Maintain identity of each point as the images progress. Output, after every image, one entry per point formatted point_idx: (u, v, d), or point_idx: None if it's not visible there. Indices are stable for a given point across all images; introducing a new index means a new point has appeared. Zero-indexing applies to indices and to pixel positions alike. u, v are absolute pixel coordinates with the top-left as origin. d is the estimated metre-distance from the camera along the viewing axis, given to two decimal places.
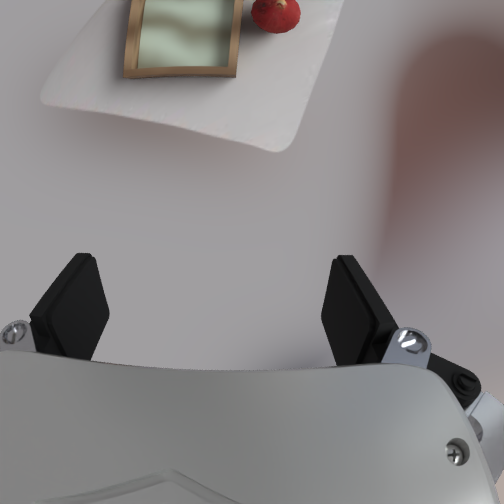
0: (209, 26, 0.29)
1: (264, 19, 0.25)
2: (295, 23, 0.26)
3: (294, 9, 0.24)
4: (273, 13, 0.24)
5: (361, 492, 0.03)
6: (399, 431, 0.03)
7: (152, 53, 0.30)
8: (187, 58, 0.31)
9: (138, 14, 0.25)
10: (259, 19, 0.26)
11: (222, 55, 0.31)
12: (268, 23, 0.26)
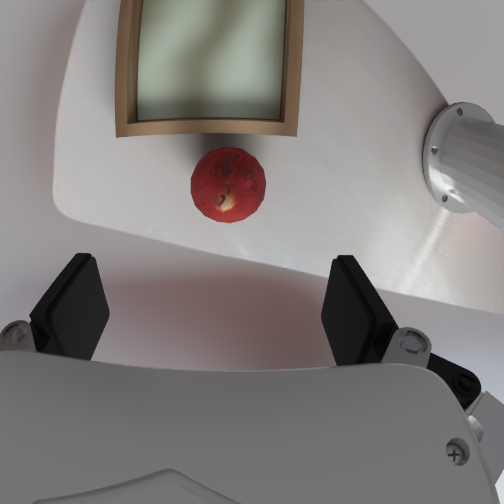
0: (208, 84, 0.21)
1: (201, 172, 0.20)
2: (207, 216, 0.23)
3: (224, 218, 0.21)
4: (208, 188, 0.20)
5: (361, 492, 0.03)
6: (399, 431, 0.03)
7: (167, 10, 0.17)
8: (152, 61, 0.19)
9: None
10: (204, 163, 0.20)
11: (157, 109, 0.22)
12: (196, 178, 0.20)
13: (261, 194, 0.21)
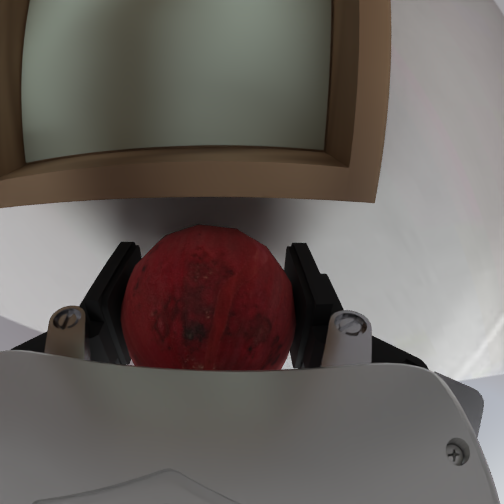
0: (155, 69, 0.08)
1: (135, 317, 0.07)
2: None
3: None
4: None
5: (361, 492, 0.03)
6: (399, 431, 0.03)
7: None
8: (45, 36, 0.07)
9: None
10: (141, 288, 0.08)
11: (54, 137, 0.09)
12: (126, 325, 0.08)
13: (287, 353, 0.09)
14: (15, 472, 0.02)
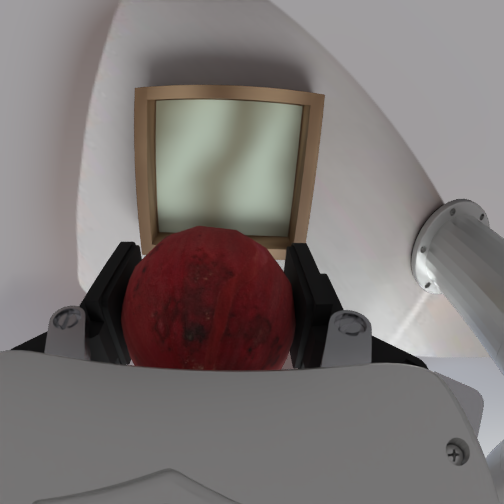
0: (224, 204, 0.26)
1: (135, 318, 0.07)
2: None
3: None
4: None
5: (361, 492, 0.03)
6: (399, 431, 0.03)
7: (182, 122, 0.22)
8: (170, 177, 0.24)
9: None
10: (141, 290, 0.08)
11: (177, 224, 0.26)
12: (126, 326, 0.08)
13: (286, 354, 0.09)
14: (15, 472, 0.02)
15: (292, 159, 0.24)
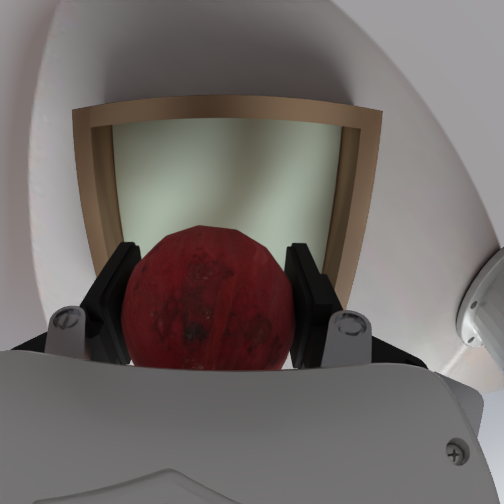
0: None
1: (135, 317, 0.07)
2: None
3: None
4: None
5: (361, 492, 0.03)
6: (399, 431, 0.03)
7: (153, 156, 0.14)
8: (143, 239, 0.16)
9: None
10: (141, 289, 0.08)
11: None
12: (126, 326, 0.08)
13: (286, 353, 0.09)
14: (15, 472, 0.02)
15: (325, 208, 0.16)
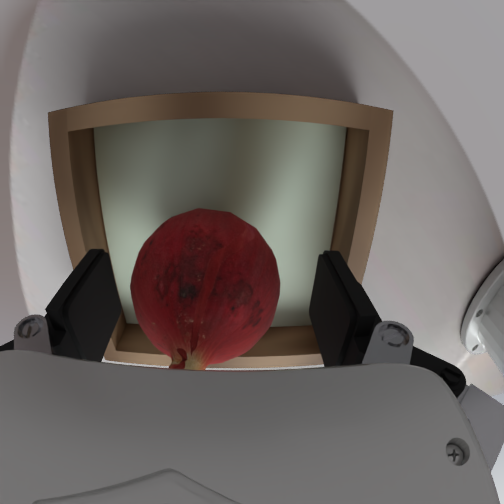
0: None
1: (141, 281, 0.09)
2: None
3: None
4: (154, 325, 0.09)
5: (361, 492, 0.03)
6: (399, 431, 0.03)
7: (137, 161, 0.13)
8: (130, 251, 0.15)
9: None
10: (147, 258, 0.09)
11: None
12: (134, 289, 0.10)
13: (269, 319, 0.10)
14: (15, 472, 0.02)
15: (327, 217, 0.15)
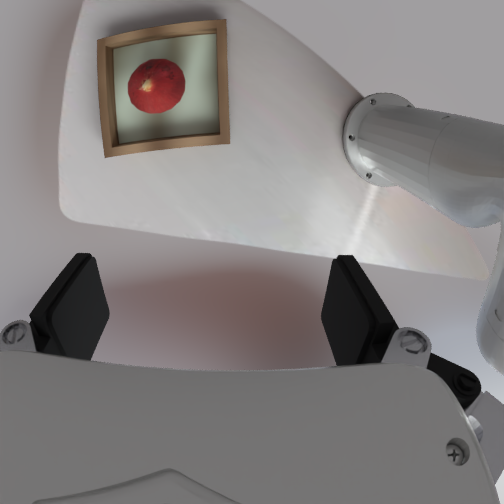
0: (166, 113, 0.29)
1: (133, 73, 0.22)
2: (140, 109, 0.25)
3: (149, 102, 0.23)
4: (136, 80, 0.22)
5: (361, 492, 0.03)
6: (399, 431, 0.03)
7: (131, 59, 0.26)
8: (125, 99, 0.28)
9: (177, 32, 0.23)
10: (136, 69, 0.22)
11: (132, 134, 0.30)
12: (129, 79, 0.23)
13: (178, 83, 0.23)
14: (15, 472, 0.02)
15: (213, 71, 0.28)
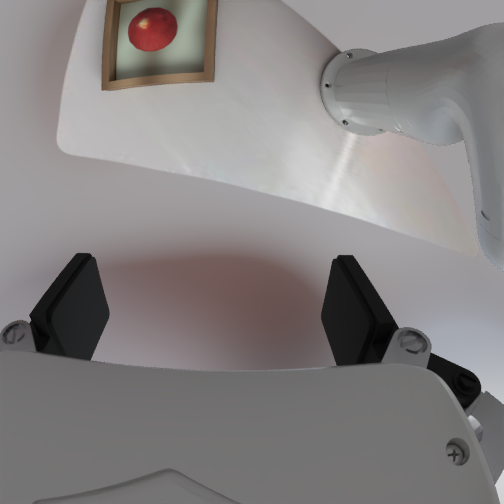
0: (159, 56, 0.30)
1: (134, 17, 0.23)
2: (136, 46, 0.25)
3: (144, 38, 0.24)
4: (135, 21, 0.22)
5: (361, 492, 0.03)
6: (399, 431, 0.03)
7: (135, 12, 0.26)
8: (126, 44, 0.28)
9: None
10: (137, 14, 0.23)
11: (128, 74, 0.30)
12: None
13: (170, 25, 0.24)
14: (15, 472, 0.02)
15: (204, 23, 0.28)
